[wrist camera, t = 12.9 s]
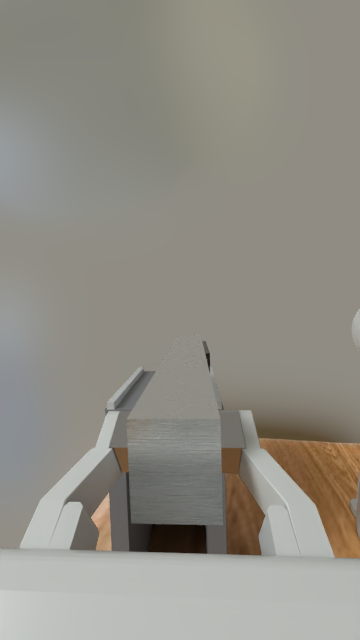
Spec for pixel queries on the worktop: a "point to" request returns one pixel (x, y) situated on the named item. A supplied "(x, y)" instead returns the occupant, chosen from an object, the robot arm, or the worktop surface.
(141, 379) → the tall grey pillar
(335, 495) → the worktop surface
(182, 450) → the brushed metal post
